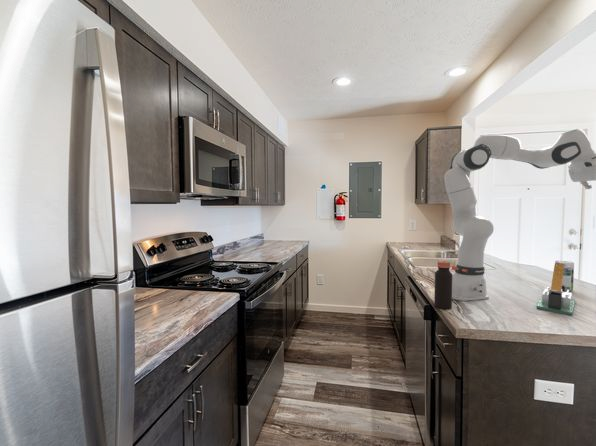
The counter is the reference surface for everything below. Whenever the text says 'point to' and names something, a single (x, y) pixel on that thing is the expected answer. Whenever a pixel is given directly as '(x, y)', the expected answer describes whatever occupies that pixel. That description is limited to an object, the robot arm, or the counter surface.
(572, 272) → the syrup box
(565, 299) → the heatsink mount
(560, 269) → the strap
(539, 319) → the counter surface
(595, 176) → the robot arm
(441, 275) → the bottle
